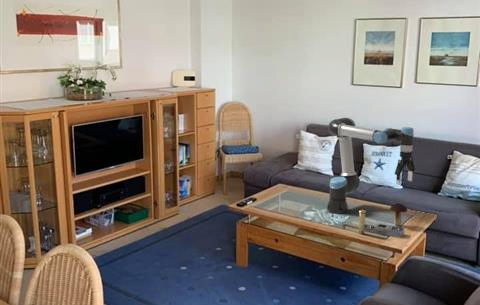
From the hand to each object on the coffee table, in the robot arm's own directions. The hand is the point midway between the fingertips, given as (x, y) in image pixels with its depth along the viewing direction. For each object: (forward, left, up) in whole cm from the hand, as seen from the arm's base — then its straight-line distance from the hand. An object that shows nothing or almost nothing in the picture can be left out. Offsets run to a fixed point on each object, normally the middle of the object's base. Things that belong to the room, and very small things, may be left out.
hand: (404, 182), depth 325 cm
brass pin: (-15, -38, -26) cm, 48 cm away
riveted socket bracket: (-5, -29, -26) cm, 39 cm away
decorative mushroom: (0, -12, -26) cm, 28 cm away
